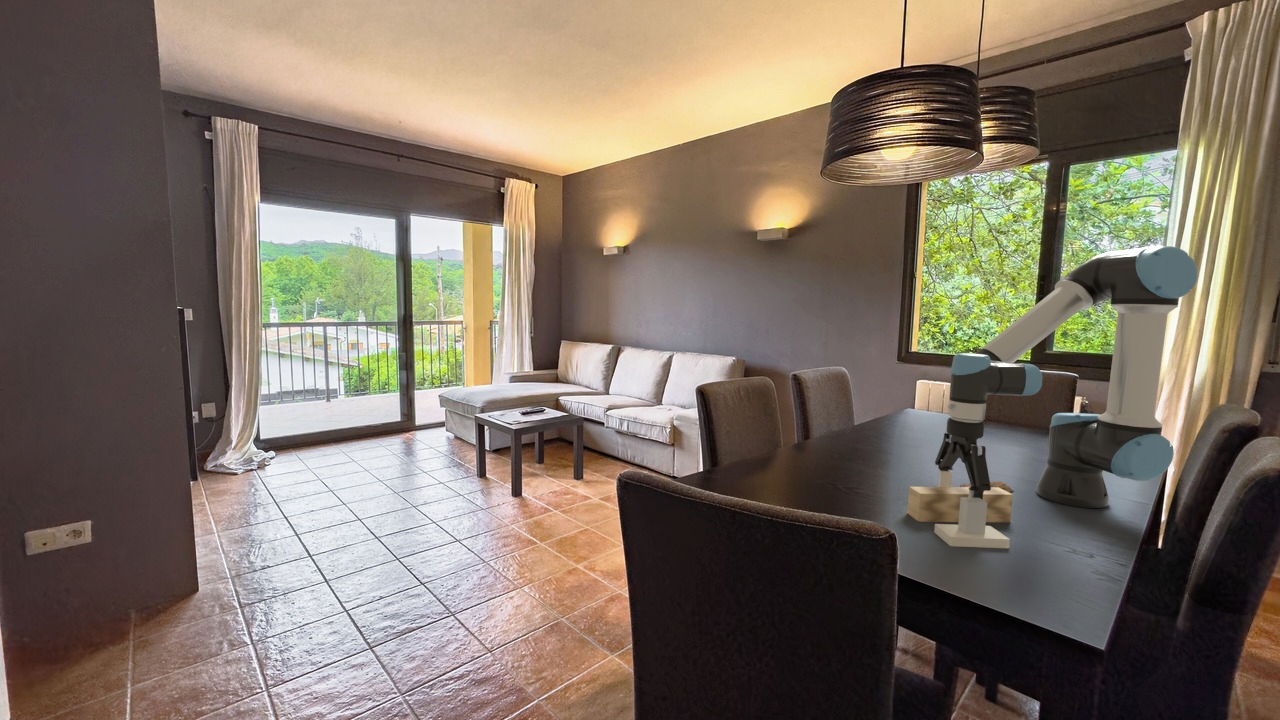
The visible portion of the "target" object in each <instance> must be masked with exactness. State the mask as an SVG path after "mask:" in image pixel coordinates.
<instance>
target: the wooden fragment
mask: <svg viewBox="0 0 1280 720" xmlns="http://www.w3.org/2000/svg"><path fill="white" fill-rule="evenodd" d="M990 486H991V487H999V488H1001V489H1003V490H1005V491H1007V492H1009V493H1014V489H1012V488H1011V487H1010V486H1008V485H1006V483H1005V482H1004V481H1001V480H999V481H990ZM959 487H971V483H967V484H965V483H964V484H961V485H959Z"/></svg>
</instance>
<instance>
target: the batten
mask: <svg viewBox="0 0 1280 720" xmlns="http://www.w3.org/2000/svg"><path fill="white" fill-rule="evenodd" d="M969 488H970V487H960V486H951V487H938V486H908V498H907V499H908V501H907V503H908V504H907V514H908V515H909V516H910V517H912V518H913V519H914V520H915V521H917V522H925V523H926V522H927V523H928V522H929V523H932V522H933V523H937V522H939V523H941V522H942V523H959V510H960V498H961V497H966V498H968V496H969ZM1013 495H1014V494H1012V492H1010V493H1009V492H1007V491H1005V490H1003V489H1001V488H999V487H991V490H990V491H984V492H983V501H985V502H987V513H986V523H1011V519H1012V508H1013V498H1014V497H1013Z"/></svg>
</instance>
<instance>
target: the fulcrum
mask: <svg viewBox="0 0 1280 720" xmlns="http://www.w3.org/2000/svg"><path fill="white" fill-rule="evenodd" d="M986 513H987V502H985V501H983V500H982V499H980V498H966V497H961V498H960V510H959V522H957V523H958V524H950V523H949V524H948V523H947V524H946V523H945V524H944V523H935V524H934V531H933V532H934V533H935V534H936V535H937V536H938V537H939V538H940V539H941V540H942V541H944V542H945V544H947V545H948V546H950V547H959V548H960V547H962V548H963V547H964V548H987V549H1010V541H1011V540H1010V538H1008V537H1007V536H1006V535H1004V534H1003V533H1002V532H1000V531H998V530H997V529H995V528H994V527H993V526H991V525H987V524H986V523H987V522H986Z"/></svg>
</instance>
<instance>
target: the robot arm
mask: <svg viewBox="0 0 1280 720" xmlns="http://www.w3.org/2000/svg"><path fill="white" fill-rule="evenodd" d="M1197 280H1198V268H1197V265H1196V262H1195V260H1194V259H1193V258H1192V256H1190V255H1189V254H1188V252H1187V251H1186V250H1183V249H1182V248H1179V247H1176V246H1173V245H1172V246H1170V245H1168V246H1167V245H1166V246H1165V245H1164V246H1163V245H1162V246H1161V245H1160V246H1157V245H1155V246H1145V247H1139V248H1131V249H1123V250H1121V249H1120V250H1112V251H1111V250H1110V251H1106V252H1104V253H1101V254H1098V255H1096V256H1093V257H1091V258H1090V259H1088V260H1087V261H1085V262H1083V263H1082V264H1080V265H1078V266H1077V267H1076V268H1074V269H1073V270H1071V271H1070V272H1069V273H1067V274H1066V275H1065V276H1064V277H1062V278H1061V279H1059V280H1058V281H1057V282H1056V283H1055V284H1054V290H1053V291H1051V292H1050V293H1049V294H1047V295H1046V296H1045V297H1044V298H1042V300H1040V301H1039V302H1038V303H1036V304H1035V305H1034V306H1033V307H1031V308H1030V309H1028V310H1027V311H1026V312H1025V313H1024V314H1023V315H1021V316H1020V317H1019V318H1017V320H1015V321H1014V322H1012V324H1010V325H1009V326H1007V327H1006V328H1005V329H1004V330H1002V331H1001V332H1000V333H998V334H997V335H996V336H995V337H993V338H992V339H991V340H990V341H989V342H987V343H986V344H985V345H984V346H983V347H981V348H980V349H979V350H978V351H976V352H975V353H968V352H967V353H965V352H964V353H963V352H962V353H956V354H955V355H954V356H953V359H952V364H951V369H950V374H951V375H950V387H949V399H948V400H949V401H948V404H947V408H948V412H947V415H948V416H949V417H948V418H947V419H946V420H947V421H946V429H945V430H946V432H944V433H943V439H942V443H941V446H940V448H939V450H938V453H937V455H936V458H935V461H934V464H935V466H938V470H939V475H938V486H937V487H952V482H953V481H952V480H953V471H954V468H953V467H954V465H955V464H956V462H957V461H958V459H960V461H961V462H962V463H963V464H964V466H965V469H966V473H967V476H968V479H969V484H971V487H970V488H969V496H968V498H980V499H982V500H983V492H984V491H990V490H991V486H990V482H991V481H990V480H991V479H990V475H989V469H988V463H987V458H986V451H987V450H986V449H987V448H986V445H985V446H984V445H978V441H977V440H978V439H982V438H983V437H984V431H985V422H984V420H985V419H986V410H987V401H988V400H987V399H988V396H992V395H993V396H995V395H996V396H1018V397H1023V396H1032V395H1036V394H1037V393H1038V392H1039V391H1040V390H1041V388H1042V387H1043V378H1044V377H1043V374H1042V371H1041V370H1040V368H1039V367H1038V366H1036V365H1034V364H1031V363H1024V362H1023V363H1022V362H1019V363H1017V362H1016V361H1017V360H1019V359H1020V358H1021V357H1022V356H1024V355H1025V354H1026V353H1027V352H1029V351H1030V350H1031V349H1033V348H1034V347H1036V345H1038V344H1039V343H1040V342H1042V341H1043V340H1044V339H1045V338H1047V337H1048V336H1049V335H1051V333H1053V332H1054V331H1055V330H1057V329H1059V327H1060V326H1061V325H1063V324H1065V323H1066V322H1067V321H1068V320H1069V319H1071V318H1072V317H1073V316H1074V315H1076V314H1077V313H1078V312H1080V311H1085V310H1089V309H1090V308H1092V307H1093V306H1095V305H1096V304H1097V303H1100V302H1101V301H1105V300H1109V299H1110V307H1111V308H1113V310H1115V312H1117V319H1116V327H1115V336H1114V343H1113V351H1112V352H1113V353H1112V358H1111V359H1112V361H1111V368H1110V369H1111V370H1110V376H1109V377H1110V378H1109V383H1108V384H1109V385H1108V393H1107V401H1106V410H1105V412H1104V413H1102V414H1098V413H1081V412H1058V413H1055V414H1053V415H1052V417H1051V421H1050V425H1049V426H1048V427H1049V432H1048V444H1047V445H1048V446H1047V459H1046V466H1045V468H1044V470H1043V472H1042V474H1041V475H1040V479H1039V480H1038V482H1037V484H1036V491H1035V493H1036V494H1037V495H1038V496H1040V497H1042V498H1044V499H1046V500H1049V501H1052V502H1055V503H1059V504H1062V505H1065V506H1073V507H1078V508H1085V509H1087V508H1088V509H1102V508H1106V507H1108V505H1109V501H1110V495H1109V493H1108V489H1107V486H1106V484H1105V479H1104V476H1103V472H1107V473H1109V474H1112V475H1114V476H1116V477H1118V478H1121V479H1128V480H1131V481H1136V482H1147V481H1152V480H1154V479H1157V478H1159V477H1160V475H1162V474H1164V473H1165V472H1166V471H1167V470H1168V469H1169V467H1170V465H1171V464H1172V462H1173V459H1174V455H1175V451H1174V447H1173V445H1172V444H1171V442H1170V440H1169V439H1167V438H1166V437H1164V436H1163V435H1162V430H1163V424H1162V423H1161V422H1160V421H1159V420H1158V419H1157V418H1156V417H1155V415H1156V407H1157V399H1158V392H1159V385H1160V384H1159V383H1160V378H1161V377H1160V374H1161V369H1162V368H1161V367H1162V360H1163V359H1162V358H1163V354H1164V344H1165V337H1166V329H1167V321H1168V315H1169V313H1170V312H1172V311H1174V310H1175V309H1177V308H1178V307H1179V302H1180V301H1179V300H1180V298H1182V297H1184V296H1186V295H1187V294H1189V293H1190V292H1191V290H1192V289H1194V288H1195V286H1196V283H1197Z"/></svg>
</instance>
